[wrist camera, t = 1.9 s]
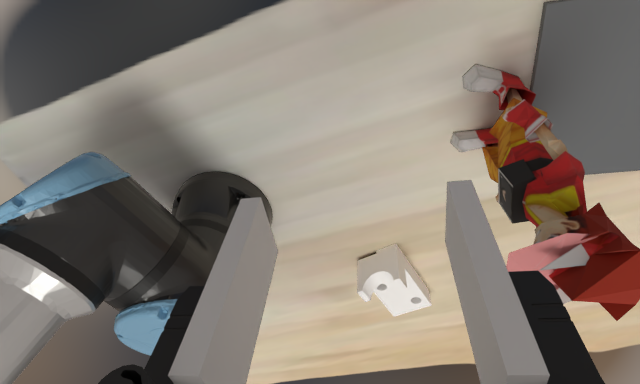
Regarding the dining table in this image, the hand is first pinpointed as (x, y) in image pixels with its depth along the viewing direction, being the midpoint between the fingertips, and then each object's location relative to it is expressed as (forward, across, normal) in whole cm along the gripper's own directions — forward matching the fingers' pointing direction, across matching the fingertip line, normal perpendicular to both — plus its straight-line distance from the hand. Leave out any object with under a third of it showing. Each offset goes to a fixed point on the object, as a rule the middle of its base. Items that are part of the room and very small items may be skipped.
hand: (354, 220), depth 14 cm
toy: (+35, +14, -13) cm, 40 cm away
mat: (+35, +31, -13) cm, 48 cm away
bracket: (+35, +2, -43) cm, 56 cm away
